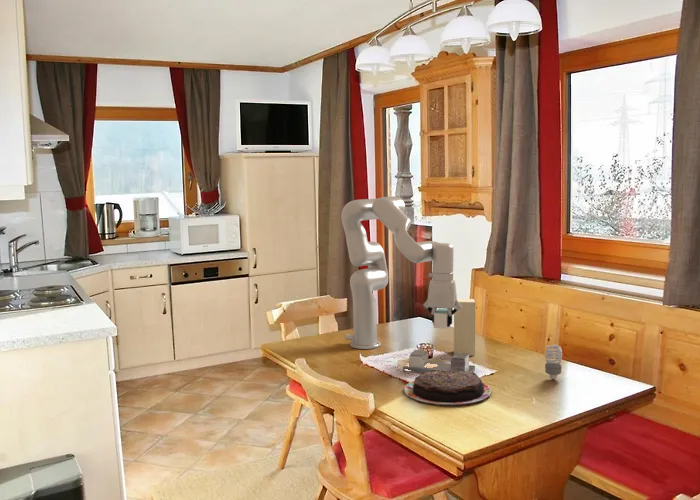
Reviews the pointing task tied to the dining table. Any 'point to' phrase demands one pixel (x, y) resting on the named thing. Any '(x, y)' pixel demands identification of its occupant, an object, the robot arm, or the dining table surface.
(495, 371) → the dining table surface
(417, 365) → the rail
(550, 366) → the light bulb
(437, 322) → the block
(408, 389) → the chocolate cake
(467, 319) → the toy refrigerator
